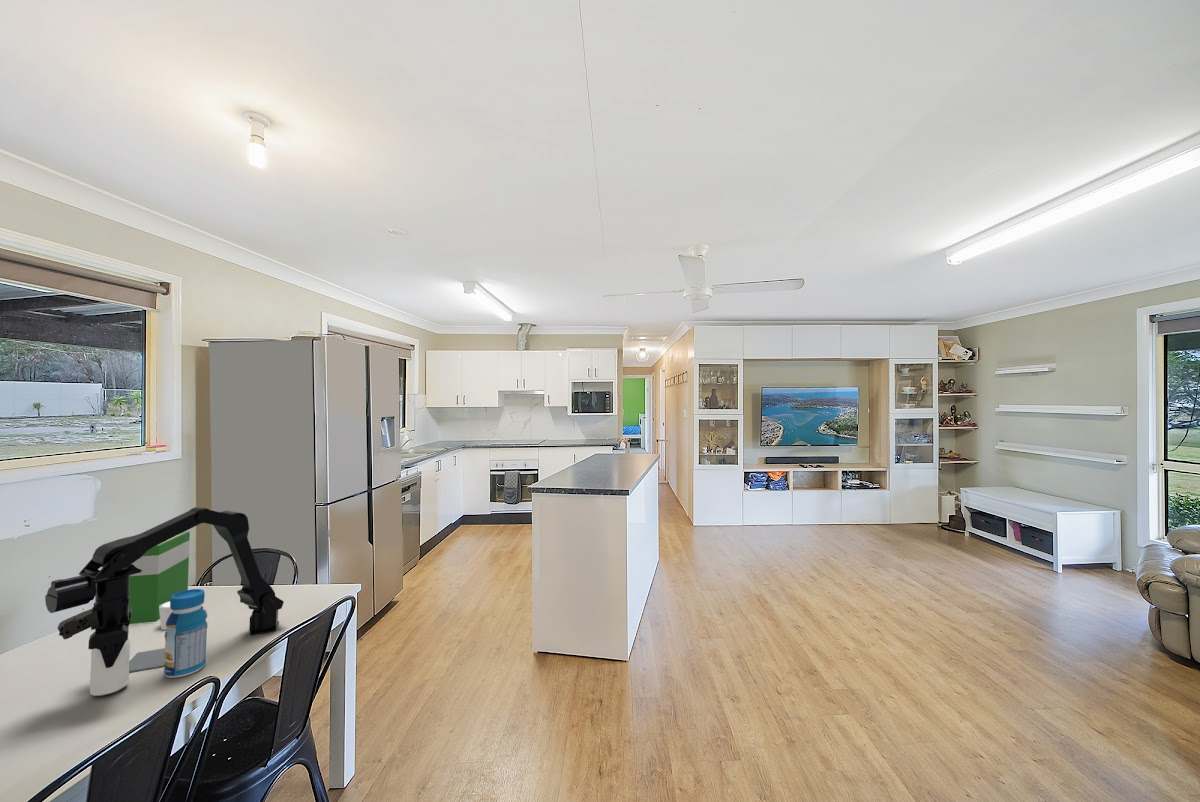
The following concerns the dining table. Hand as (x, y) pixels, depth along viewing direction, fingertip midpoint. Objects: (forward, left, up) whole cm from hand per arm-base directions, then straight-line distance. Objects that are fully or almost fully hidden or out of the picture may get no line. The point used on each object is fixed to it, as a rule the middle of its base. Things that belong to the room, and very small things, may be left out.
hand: (110, 661), depth 112 cm
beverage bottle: (-13, -4, -8) cm, 16 cm away
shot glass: (-1, -37, -8) cm, 38 cm away
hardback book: (+7, -52, -8) cm, 53 cm away
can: (0, 0, -7) cm, 7 cm away
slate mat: (-4, -14, -7) cm, 16 cm away
